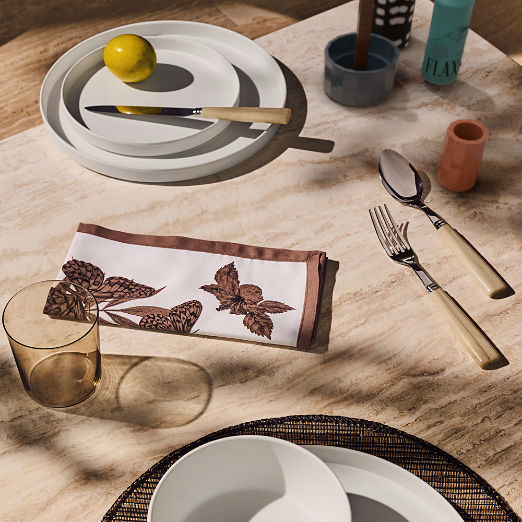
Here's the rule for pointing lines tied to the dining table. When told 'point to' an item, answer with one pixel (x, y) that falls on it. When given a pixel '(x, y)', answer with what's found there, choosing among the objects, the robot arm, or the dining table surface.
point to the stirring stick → (363, 34)
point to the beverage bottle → (446, 40)
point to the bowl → (360, 82)
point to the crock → (462, 154)
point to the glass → (393, 20)
